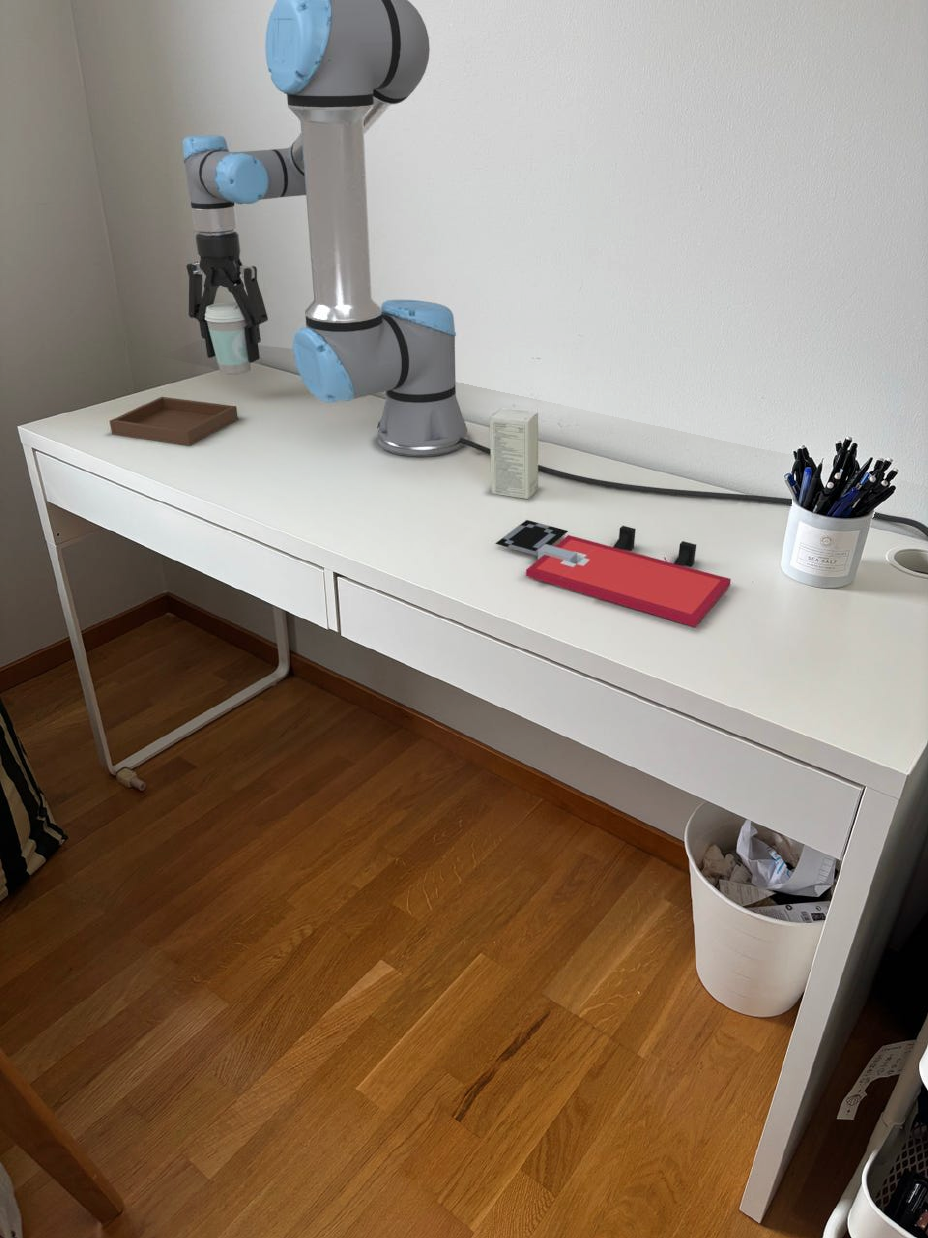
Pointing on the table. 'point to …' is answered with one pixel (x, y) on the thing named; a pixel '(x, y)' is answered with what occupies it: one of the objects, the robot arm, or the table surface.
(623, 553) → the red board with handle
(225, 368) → the coffee cup
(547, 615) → the table surface
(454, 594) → the table surface
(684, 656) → the table surface
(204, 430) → the tray
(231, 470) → the table surface
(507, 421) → the cosmetic box
